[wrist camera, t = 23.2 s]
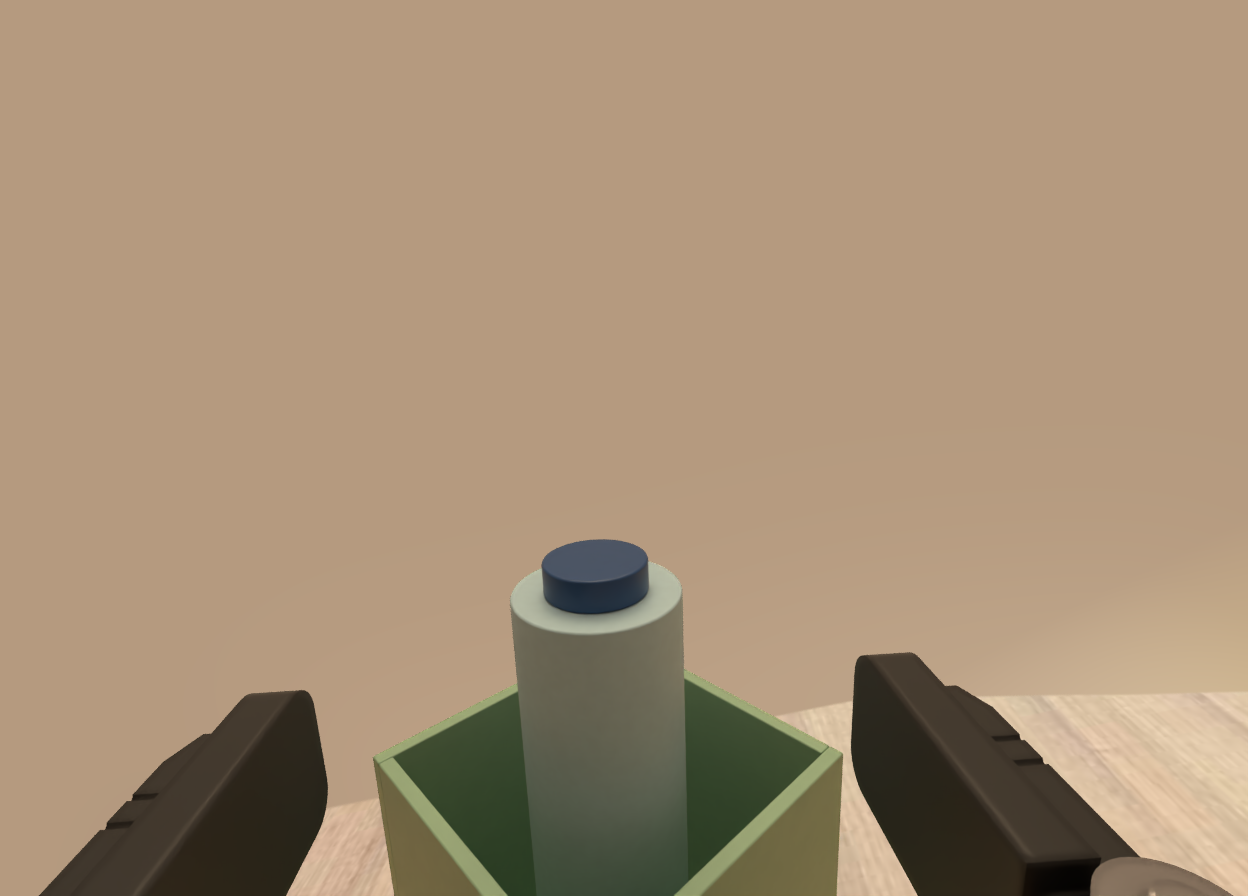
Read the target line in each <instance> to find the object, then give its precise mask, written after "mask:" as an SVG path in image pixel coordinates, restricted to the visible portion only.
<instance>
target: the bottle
mask: <svg viewBox="0 0 1248 896" xmlns="http://www.w3.org/2000/svg"><path fill="white" fill-rule="evenodd" d="M510 607H511V618H512V629H513V639H514V651H515V662H516V673H517V684H518V695H519V706H520V717H521V728H522V740H523V751H524V762H525V773H526V784H527V795H528V806H529V817H530V828H531V839H532V850H533V861H534V872H535V883H536V894H537V896H674V895H675V894H676V893H677V892H678V891H679V890H680V889H681V888H682V887H683V886H684V885H685V884H686V883H687V882H688V839H687V791H686V743H685V695H684V652H683V651H684V648H683V600H682V587H681V584H680V582H679V580H678V578H677V577H676V576H675V575H674V574H673V573H671V572H670V571H669V570H667V569H666V568H664V567H662V566H659V565H657V564H655V563H652V562H649V561H648V557H647V555H646V553H645V552H644V550H643V549H641V548H640V547H638V546H636V545H634V544H631V543H627V542H623V541H617V540H587V541H580V542H574V543H571V544H567V545H564V546H562V547H559V548H557V549H555V550H553V551H551V552H550V553H548V554H547V555H546V556H545V558H544V559H543V561H542V568H541V569H539V570H537V571H535V572H533V573H531V574H530V575H528V576H526V577H525V578H524V579H523V580H521V581H520V582H519V583H518V584H517V586H516V587H515V588H514V590H513V592H512V595H511V598H510Z"/></svg>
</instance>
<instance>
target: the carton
mask: <svg viewBox="0 0 1248 896" xmlns="http://www.w3.org/2000/svg"><path fill="white" fill-rule="evenodd" d="M684 695H685V743H686V791H687V839H688V882H687V883H686V884H685V885H684V886H683V887H682V888H681V889H680V890H679V891H678V892H677V893H676V894H675V895H674V896H836V894H837V872H838V851H839V829H840V808H841V787H842V765H843V753H842V752H840V751H838V750H836V749H834V748H832V747H829V746H828V745H827V744H825V743H823V742H821V741H819V740H817V739H815V738H813V737H811V736H810V735H808V734H806V733H804V732H802V731H800V730H798V729H796V728H794V727H793V726H791V725H789V724H787V723H785V722H783V721H781V720H779V719H778V718H776V717H774V716H772V715H770V714H768V713H766V712H764V711H762V710H761V709H759V708H757V707H755V706H753V705H751V704H749V703H747V702H746V701H744V700H742V699H740V698H738V697H736V696H734V695H732V694H730V693H729V692H727V691H725V690H723V689H721V688H719V687H717V686H715V685H713V684H712V683H710V682H708V681H706V680H704V679H702V678H700V677H698V676H697V675H695V674H693V673H691V672H689V671H687V670H685V669H684ZM373 761H374V767H375V773H376V780H377V786H378V793H379V799H380V806H381V812H382V819H383V825H384V831H385V838H386V844H387V851H388V857H389V864H390V870H391V877H392V883H393V889H394V896H537V894H536V883H535V872H534V861H533V850H532V839H531V828H530V817H529V806H528V795H527V784H526V773H525V762H524V751H523V740H522V728H521V717H520V706H519V695H518V684H515V685H513V686H511V687H509V688H507V689H505V690H503V691H501V692H499V693H497V694H495V695H493V696H491V697H489V698H487V699H485V700H483V701H482V702H479V703H477V704H476V705H473V706H472V707H470V708H468V709H466V710H464V711H462V712H460V713H458V714H456V715H454V716H452V717H450V718H448V719H446V720H444V721H442V722H440V723H438V724H437V725H434V726H432V727H430V728H428V729H426V730H425V731H422V732H421V733H419V734H417V735H415V736H413V737H411V738H409V739H407V740H405V741H403V742H401V743H399V744H397V745H395V746H393V747H391V748H389V749H387V750H385V751H383V752H381V753H380V754H377V755H376V756H374V757H373Z"/></svg>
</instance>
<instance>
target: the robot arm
mask: <svg viewBox="0 0 1248 896" xmlns="http://www.w3.org/2000/svg"><path fill="white" fill-rule="evenodd" d="M851 754H852V762H853V767H854V772H855V775H856V779H857V782H858V785H859V787H860V790H861V792H862V794H863V796H864V798H865V800H866V802H867V803H868V805H869V807H870V809H871V811H872V812H873V814H874V816H875V818H876V820H877V822H878V823H879V825H880V827H881V829H882V831H883V833H884V834H885V836H886V838H887V840H888V842H889V844H890V845H891V847H892V849H893V851H894V853H895V855H896V856H897V858H898V860H899V862H900V864H901V866H902V867H903V869H904V871H905V873H906V875H907V877H908V878H909V880H910V882H911V884H912V886H913V888H914V889H915V891H916V893H917V895H918V896H1233V895H1231V894H1230V893H1228V892H1227V891H1225V890H1224V889H1222V888H1220V887H1219V886H1217V885H1215V884H1213V883H1212V882H1210V881H1208V880H1206V879H1204V878H1202V877H1200V876H1198V875H1196V874H1194V873H1192V872H1189V871H1187V870H1184V869H1182V868H1179V867H1177V866H1174V865H1171V864H1168V863H1164V862H1161V861H1157V860H1152V859H1147V858H1140V857H1139V856H1138V855H1137V854H1136V853H1135V851H1134V850H1133V849H1132V848H1131V847H1130V846H1129V845H1128V844H1127V843H1126V842H1125V841H1124V840H1123V839H1122V838H1121V837H1120V836H1119V835H1118V834H1117V833H1116V832H1115V831H1114V830H1113V829H1112V828H1111V827H1110V826H1109V825H1108V824H1107V823H1106V822H1105V821H1104V820H1103V819H1102V818H1101V817H1100V816H1099V815H1098V814H1097V813H1096V812H1095V811H1094V810H1093V809H1092V808H1091V807H1090V806H1089V805H1088V804H1087V803H1086V802H1085V801H1084V800H1083V799H1082V798H1081V797H1080V796H1079V795H1078V793H1077V792H1076V791H1075V790H1074V789H1073V788H1072V787H1071V786H1070V785H1069V784H1068V783H1067V782H1066V781H1065V780H1064V779H1063V778H1062V777H1061V776H1060V775H1059V774H1058V773H1057V772H1056V771H1055V770H1054V769H1053V768H1052V767H1051V766H1050V765H1049V764H1044V762H1043V758H1042V757H1041V756H1040V755H1039V754H1038V753H1037V752H1036V751H1035V750H1034V749H1033V748H1032V747H1031V746H1030V745H1029V744H1028V743H1027V742H1026V741H1025V740H1021V739H1020V734H1019V733H1018V732H1017V731H1016V730H1015V729H1014V728H1013V727H1012V726H1011V725H1010V724H1009V723H1008V722H1007V721H1006V720H1005V719H1004V718H1003V717H1002V716H1001V715H1000V714H999V713H998V712H997V711H996V710H995V709H994V708H993V707H992V706H990V705H988V704H986V703H985V702H983V701H981V700H980V699H978V698H976V697H975V696H973V695H971V694H970V693H968V692H966V691H965V690H963V689H961V688H960V687H958V686H944V685H943V683H942V682H941V681H940V680H939V679H938V678H937V677H936V676H935V675H934V674H933V672H932V671H931V670H930V669H929V668H928V667H927V666H926V665H925V664H924V663H923V662H922V661H921V659H920V658H919V657H918V656H917V655H915V654H913V653H910V652H909V653H894V654H878V655H864V656H860V657H859V658H858V659H857V662H856V666H855V675H854V696H853V715H852V735H851ZM327 795H328V784H327V776H326V771H325V765H324V759H323V753H322V748H321V742H320V736H319V731H318V725H317V719H316V714H315V708H314V703H313V700H312V698H311V696H310V694H309V693H308V692H306V691H304V690H299V691H284V692H269V693H253V694H248V695H246V696H245V697H244V698H243V699H242V700H241V701H240V702H239V703H238V704H237V705H236V706H235V707H234V709H233V710H232V711H231V712H230V713H229V714H228V715H227V717H226V718H225V719H224V720H223V721H222V722H221V723H220V724H219V726H218V727H217V728H216V729H215V730H214V731H213V733H212V734H203V735H202V736H200V737H199V738H197V739H196V740H194V741H193V742H191V743H190V744H189V745H187V746H186V747H184V748H183V749H181V750H180V751H178V752H177V753H176V754H174V755H173V756H171V757H170V758H168V759H167V760H166V761H164V762H163V763H162V764H161V765H160V766H159V767H158V768H157V769H156V770H155V771H154V772H153V773H152V775H151V776H150V777H149V778H148V779H147V780H146V781H145V782H144V783H143V784H142V785H141V786H140V787H139V789H138V790H137V791H136V792H135V793H134V794H133V798H132V801H127V802H126V803H125V804H124V805H123V806H122V807H121V808H120V809H119V810H118V811H117V812H116V813H115V814H114V815H113V817H112V818H111V819H110V820H109V821H108V822H107V826H106V829H105V830H100V831H99V832H98V833H97V834H96V835H95V836H94V837H93V838H92V839H91V840H90V841H89V842H88V843H87V845H86V846H85V847H84V848H83V849H82V850H81V851H80V852H79V853H78V854H77V855H76V856H75V857H74V859H73V860H72V861H71V862H70V863H69V864H68V865H67V866H66V867H65V868H64V869H63V870H62V872H61V873H60V874H59V875H58V876H57V877H56V878H55V879H54V880H53V881H52V882H51V884H49V886H48V887H47V888H46V889H45V890H44V891H43V892H42V893H41V894H40V895H39V896H286V895H287V893H288V891H289V889H290V887H291V885H292V883H293V881H294V879H295V877H296V875H297V873H298V871H299V869H300V867H301V865H302V863H303V861H304V859H305V858H306V856H307V854H308V852H309V850H310V848H311V846H312V844H313V842H314V840H315V838H316V836H317V834H318V832H319V830H320V827H321V825H322V822H323V818H324V815H325V810H326V804H327Z"/></svg>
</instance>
